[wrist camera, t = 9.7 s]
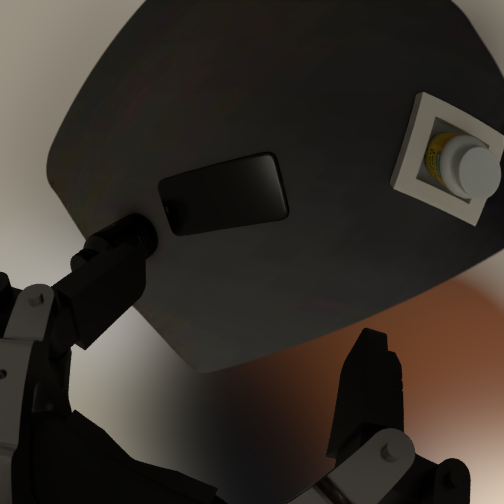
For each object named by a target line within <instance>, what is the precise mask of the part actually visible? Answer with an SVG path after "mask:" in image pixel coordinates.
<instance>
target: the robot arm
mask: <svg viewBox="0 0 504 504" xmlns="http://www.w3.org/2000/svg"><path fill="white" fill-rule="evenodd" d="M145 286H146V258H145V250H144V249H143V248H140V247H138V246H135V245H133V244H130V243H128V242H124V243H122V244H121V245H119V246H118V247H116V248H115V249H113V250H110V251H106V252H103V253H100V254H98V255H96V256H95V257H93V258H92V259H90V260H89V261H88V262H86V263H84V264H83V265H81V267H80V268H77V269H76V270H74V271H73V272H71V273H70V274H68V275H67V276H66V277H64V278H63V279H61V280H60V281H58V282H57V283H56V284H54V285H53V286H51V287H50V286H48V285H45V284H34V285H31V286H28V287H26V288H25V289H24V290H20V289H17V288H14V287H11V284H10V281H9V278H8V275H7V274H5V273H3V272H0V504H228V503H226V502H225V501H224V500H223V499H221V498H220V497H218V496H217V495H215V493H216V491H217V489H218V488H216V487H213V486H211V485H208V484H206V483H203V482H201V481H198V480H196V479H194V478H191V477H189V476H187V475H185V474H182V473H180V472H178V471H174V470H170V469H165V468H162V467H158V466H154V465H151V464H147V463H144V462H140V461H137V460H135V459H133V458H131V457H130V456H129V455H128V454H127V453H126V452H125V451H124V450H123V449H122V448H121V447H120V446H119V445H118V444H117V443H116V442H115V441H114V440H113V439H112V438H111V437H110V436H109V435H108V434H107V433H106V432H105V430H103V429H102V428H100V427H99V426H97V425H96V424H95V423H93V422H92V421H90V420H89V419H87V418H86V417H85V416H83V415H82V414H80V413H79V412H78V411H77V410H74V411H73V412H72V411H71V406H70V402H69V396H68V390H69V376H70V365H71V364H70V363H71V355H72V351H71V347H72V346H73V345H74V344H76V345H78V346H79V347H81V348H82V349H84V350H86V349H87V348H88V347H89V346H90V345H91V344H92V343H93V342H94V341H95V340H96V339H97V338H98V337H99V336H100V335H101V334H102V333H104V331H106V330H107V328H109V327H110V326H111V325H112V324H113V323H114V322H115V321H116V320H117V319H118V318H119V317H120V316H121V315H122V314H123V313H124V312H125V311H127V310H128V308H129V307H131V306H132V305H133V304H134V303H135V302H136V301H137V300H138V299H139V298H140V297H141V296H142V294H143V292H144V290H145ZM401 380H402V368H401V364H400V362H399V359H398V357H397V355H396V353H395V352H391V351H388V345H387V335H386V334H385V333H382V332H378V331H375V330H372V329H369V328H364V329H363V330H362V332H361V334H360V336H359V337H358V340H357V341H356V342H355V344H354V346H353V348H352V349H351V351H350V353H349V354H348V356H347V358H346V360H345V362H344V364H343V367H342V370H341V374H340V381H339V388H338V394H337V401H336V406H335V412H334V418H333V423H332V429H331V434H330V439H329V444H328V449H327V453H326V457H330V458H335V459H336V463H335V468H334V469H333V470H331V471H330V472H329V473H327V474H326V475H325V476H323V477H322V478H321V479H319V480H318V481H316V482H315V483H314V484H312V485H311V486H309V487H308V488H307V489H306V490H304V491H302V492H301V493H299V494H298V495H296V496H295V497H293V498H292V499H290V500H289V501H287V502H285V503H284V504H470V481H471V479H470V473H469V470H468V468H467V466H466V465H465V464H464V463H463V462H462V461H460V460H458V459H455V458H450V459H446V460H444V461H443V462H441V463H440V464H436V463H434V462H431V461H429V460H427V459H425V458H423V457H421V456H419V455H417V454H416V453H415V448H414V445H413V443H412V441H411V440H410V438H409V437H408V436H407V435H406V434H405V433H404V412H403V411H404V408H403V391H402V389H403V383H402V381H401Z"/></svg>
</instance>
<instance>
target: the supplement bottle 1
mask: <svg viewBox="0 0 504 504" xmlns="http://www.w3.org/2000/svg"><path fill="white" fill-rule="evenodd" d="M124 242H128V243H130V244H133V245H135V246H138V247H140V248H143V249H144V250H145V258H146V259H147V258H149V257H150V256H151V255H152V254H153V253H154V251H155V249H156V246H157V236H156V233H155V230H154V228H153V226H152V225H151V223H150V222H149V221H148V220H147V219H146V218H144V217H143V216H140V215H137V214H131V215H128V216H126V217H124V218H122V219H120V220H118V221H116V222H114V223H112V224H111V225H109V226H107V227H105V228H103V229H102V230H100V231H98V232H96V233H95V234H93V235H91V236H90V237H89V238H88V239H87V240H86V242H85V244H84V247H83V249H82V250H80V251H79V253H77V254H75V255H74V256H73V257H72V258H71V261H70V262H71V263H70V265H71V270H72V272H73V271H74V270H76V269H77V268H80V267H81V265H83V264H84V263H86V262H88V261H89V260H90V259H92V258H93V257H95V256H96V255H98V254H100V253H103V252H106V251H110V250H113V249H115V248H116V247H118V246H119V245H121V244H122V243H124Z"/></svg>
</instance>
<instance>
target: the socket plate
mask: <svg viewBox="0 0 504 504" xmlns="http://www.w3.org/2000/svg"><path fill="white" fill-rule="evenodd" d="M440 132H449V133H456V134H463V135H469V136H472V137H475V138H477V139H478V140H480V141H481V142H482V143H483V144H484V145H485V146H486V147H487V148H488V149H489V150H490V151H491V152H492V153H493V154H494V155H495V156H496V158H497V160H498V162H500V159H501V156H502V153H503V149H504V136H503V135H502V134H500V133H499V132H497V131H495V130H494V129H492V128H491V127H489V126H487V125H486V124H484V123H483V122H481V121H479V120H477V119H476V118H474V117H472V116H471V115H469V114H467V113H465V112H463V111H461V110H460V109H458V108H456V107H454V106H452V105H450V104H448V103H446V102H444V101H442V100H440V99H438V98H436V97H434V96H432V95H429V94H427V93H425V92H421V93H418V94H416V98H415V102H414V105H413V109H412V113H411V116H410V120H409V123H408V127H407V130H406V134H405V137H404V140H403V143H402V147H401V150H400V153H399V156H398V159H397V162H396V165H395V168H394V171H393V174H392V177H391V180H390V184H391V185H392V187H393V189H395V190H398V191H400V192H403V193H405V194H407V195H410V196H412V197H414V198H417V199H419V200H421V201H424V202H426V203H428V204H430V205H432V206H435V207H437V208H439V209H441V210H443V211H445V212H447V213H450V214H452V215H454V216H456V217H458V218H460V219H462V220H464V221H466V222H468V223H470V224H472V225H474V226H476V223H477V221H478V219H479V216H480V214H481V212H482V209H483V207H484V204H485V202H486V199H487V198H485V199H476V198H472V199H466V198H462V197H459V196H457V195H455V194H454V193H452V192H451V191H450V190H449V189H447V188H446V187H445V186H443V185H442V184H441V183H440V182H438V181H437V180H436V179H435V178H433V177H432V176H431V175H430V173H429V172H428V171H427V169H426V166H425V164H424V159H423V156H424V153H425V150H426V147H427V144H428V140H429V138H430V137H431V136H433V135H435V134H437V133H440Z"/></svg>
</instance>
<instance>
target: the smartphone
mask: <svg viewBox="0 0 504 504" xmlns="http://www.w3.org/2000/svg"><path fill="white" fill-rule="evenodd" d="M282 182H283V181H282V176H281V173H280V168H279V164H278V161H277V158H276V156H275V155H274V154H273V153H271V152H263V153H259V154H254V155H250V156H246V157H242V158H238V159H234V160H230V161H226V162H222V163H218V164H214V165H210V166H207V167H203V168H200V169H196V170H192V171H188V172H185V173H181V174H179V175H175V176H172V177H169V178H166V179H163V180H161V181H160V182H159V183H158V191H159V194H160V197H161V201H162V204H163V207H164V210H165V213H166V216H167V219H168V222H169V225H170V227H171V230H172V232H173V233H174V234H175V235H176V236H184V235H191V234H198V233H202V232H210V231H214V230H221V229H227V228H233V227H240V226H246V225H253V224H259V223H266V222H273V221H280V220H283V219H285V218H287V217H288V215H289V206H288V202H287V199H286V193H285V189H284V188H283V184H282Z"/></svg>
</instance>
